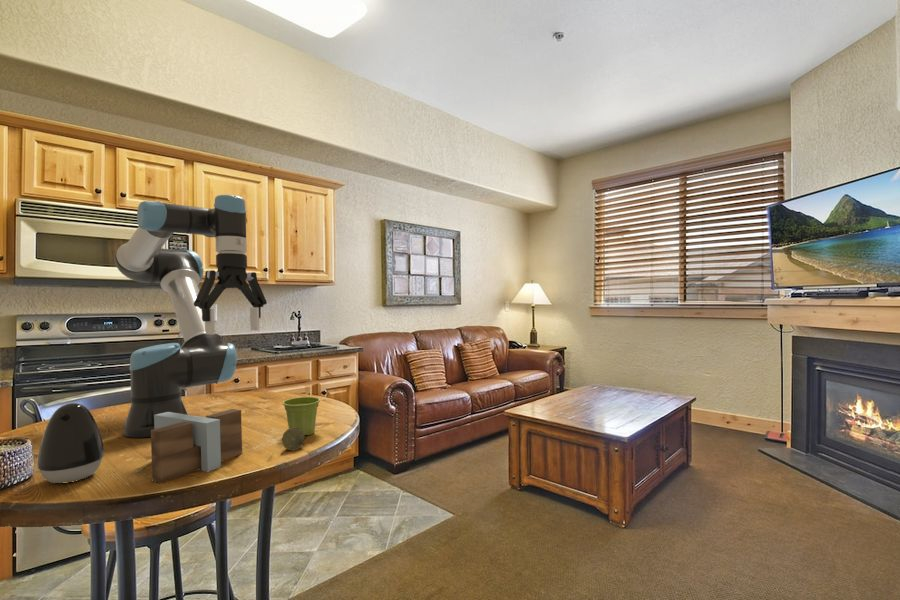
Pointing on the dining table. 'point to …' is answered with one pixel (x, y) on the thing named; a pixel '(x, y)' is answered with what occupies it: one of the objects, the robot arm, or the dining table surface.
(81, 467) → the black two-tone rounded device
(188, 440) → the brown notched board
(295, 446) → the dark grey round lump
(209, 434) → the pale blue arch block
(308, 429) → the plant pot
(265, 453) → the dining table surface
